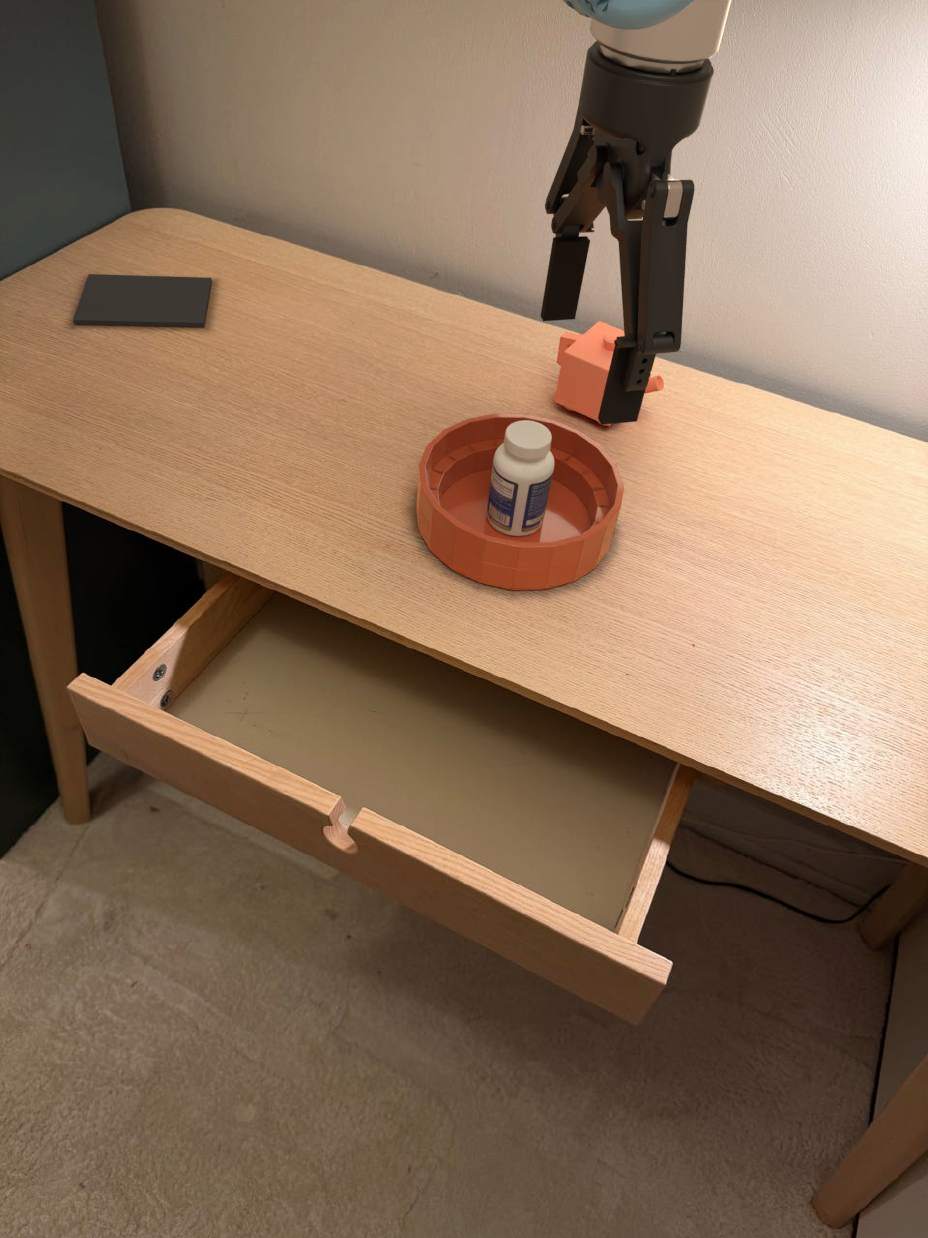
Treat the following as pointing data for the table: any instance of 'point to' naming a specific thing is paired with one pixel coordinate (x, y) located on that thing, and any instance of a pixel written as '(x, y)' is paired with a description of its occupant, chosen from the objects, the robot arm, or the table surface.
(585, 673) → the table surface
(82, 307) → the mat
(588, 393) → the pink cube teapot
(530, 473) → the pill bottle
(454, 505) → the bowl
